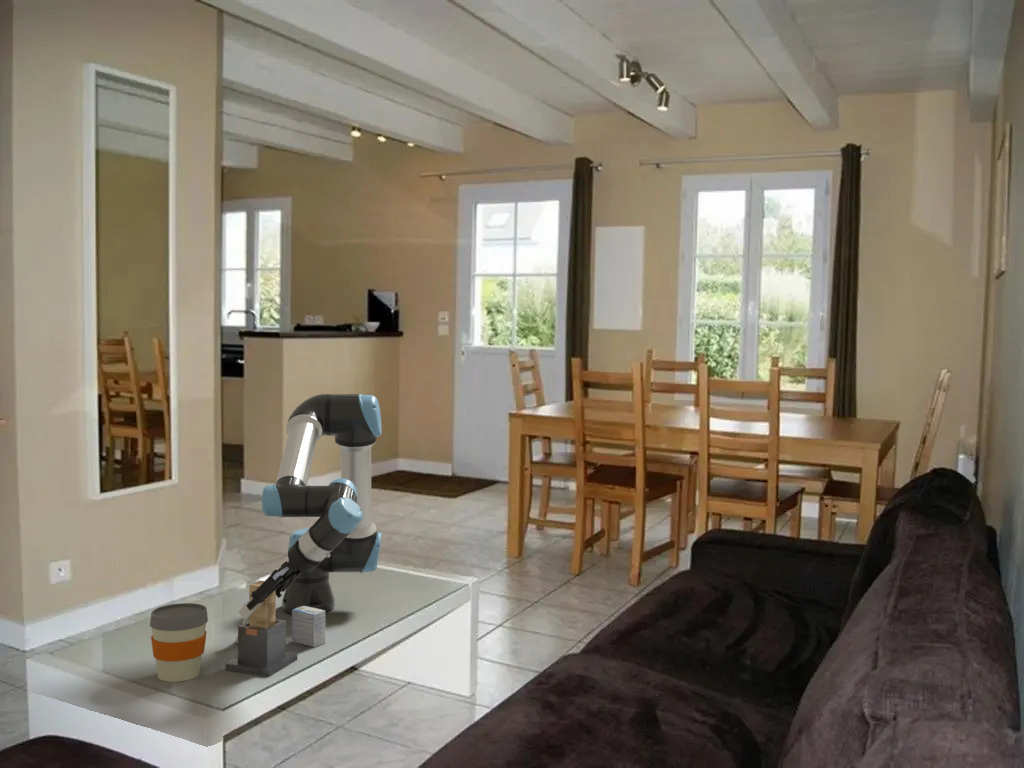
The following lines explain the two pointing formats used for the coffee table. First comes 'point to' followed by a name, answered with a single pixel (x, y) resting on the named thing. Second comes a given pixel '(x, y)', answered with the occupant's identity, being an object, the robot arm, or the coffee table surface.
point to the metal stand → (261, 650)
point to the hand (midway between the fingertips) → (248, 612)
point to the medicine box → (308, 626)
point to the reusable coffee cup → (178, 640)
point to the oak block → (263, 609)
